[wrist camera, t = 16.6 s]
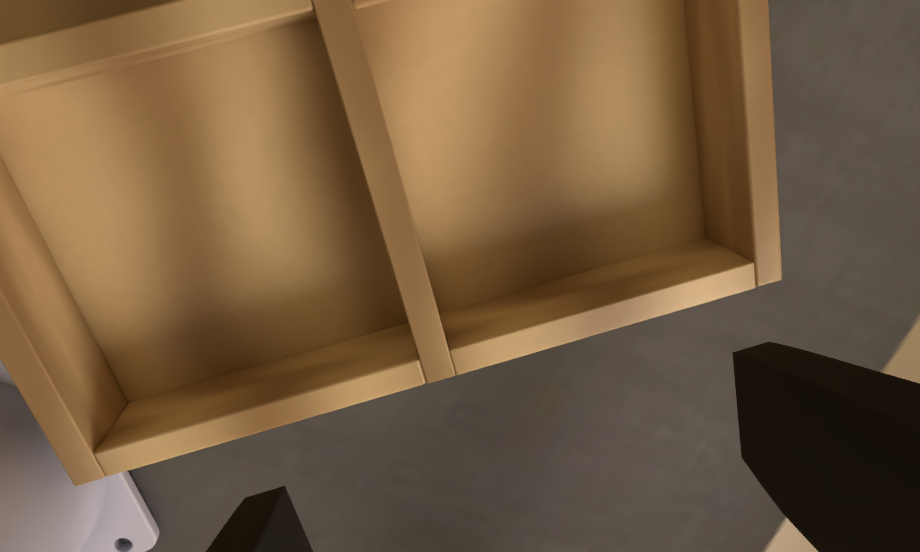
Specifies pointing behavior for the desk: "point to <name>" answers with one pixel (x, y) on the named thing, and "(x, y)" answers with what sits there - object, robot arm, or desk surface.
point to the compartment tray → (356, 198)
